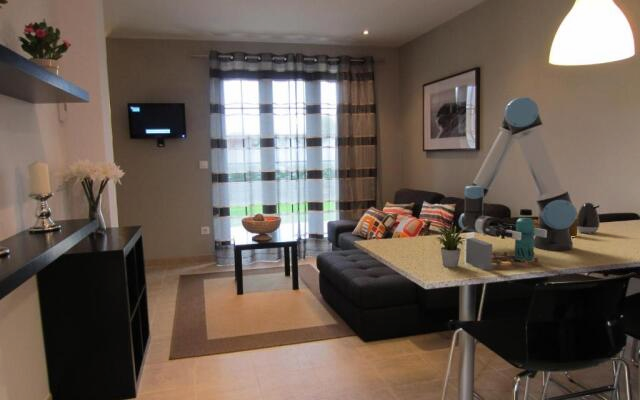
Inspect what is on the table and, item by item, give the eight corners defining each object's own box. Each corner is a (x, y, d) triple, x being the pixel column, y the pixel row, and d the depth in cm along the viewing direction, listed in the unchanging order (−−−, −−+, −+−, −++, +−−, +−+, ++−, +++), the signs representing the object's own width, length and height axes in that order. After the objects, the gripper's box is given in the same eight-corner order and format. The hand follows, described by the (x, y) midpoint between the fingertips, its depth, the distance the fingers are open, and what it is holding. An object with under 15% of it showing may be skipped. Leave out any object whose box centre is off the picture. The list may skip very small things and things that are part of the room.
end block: (473, 261, 167) (473, 238, 166) (491, 269, 155) (492, 244, 154) (465, 262, 166) (466, 238, 165) (483, 270, 155) (484, 244, 154)
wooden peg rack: (520, 258, 171) (521, 250, 170) (542, 266, 159) (542, 258, 159) (473, 261, 167) (473, 253, 167) (491, 269, 155) (491, 261, 155)
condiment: (580, 236, 214) (582, 211, 213) (571, 238, 210) (572, 213, 208) (565, 234, 220) (566, 210, 219) (556, 236, 216) (557, 211, 214)
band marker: (491, 256, 168) (491, 254, 168) (511, 264, 156) (511, 262, 156) (484, 257, 168) (484, 255, 168) (503, 264, 156) (503, 263, 156)
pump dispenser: (591, 235, 216) (593, 204, 214) (570, 232, 225) (572, 202, 223) (603, 233, 221) (605, 203, 219) (583, 230, 230) (584, 201, 228)
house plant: (421, 267, 160) (421, 222, 158) (433, 259, 172) (433, 217, 170) (461, 272, 152) (462, 225, 151) (471, 263, 164) (472, 219, 162)
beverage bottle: (510, 261, 167) (512, 208, 165) (527, 260, 168) (529, 207, 166) (519, 265, 161) (521, 210, 159) (537, 264, 161) (539, 210, 159)
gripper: (512, 233, 185) (557, 242, 164) (465, 237, 176) (507, 248, 156) (512, 215, 184) (558, 222, 164) (466, 218, 175) (507, 227, 155)
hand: (533, 235), depth 160 cm, fingers open, 11 cm apart
